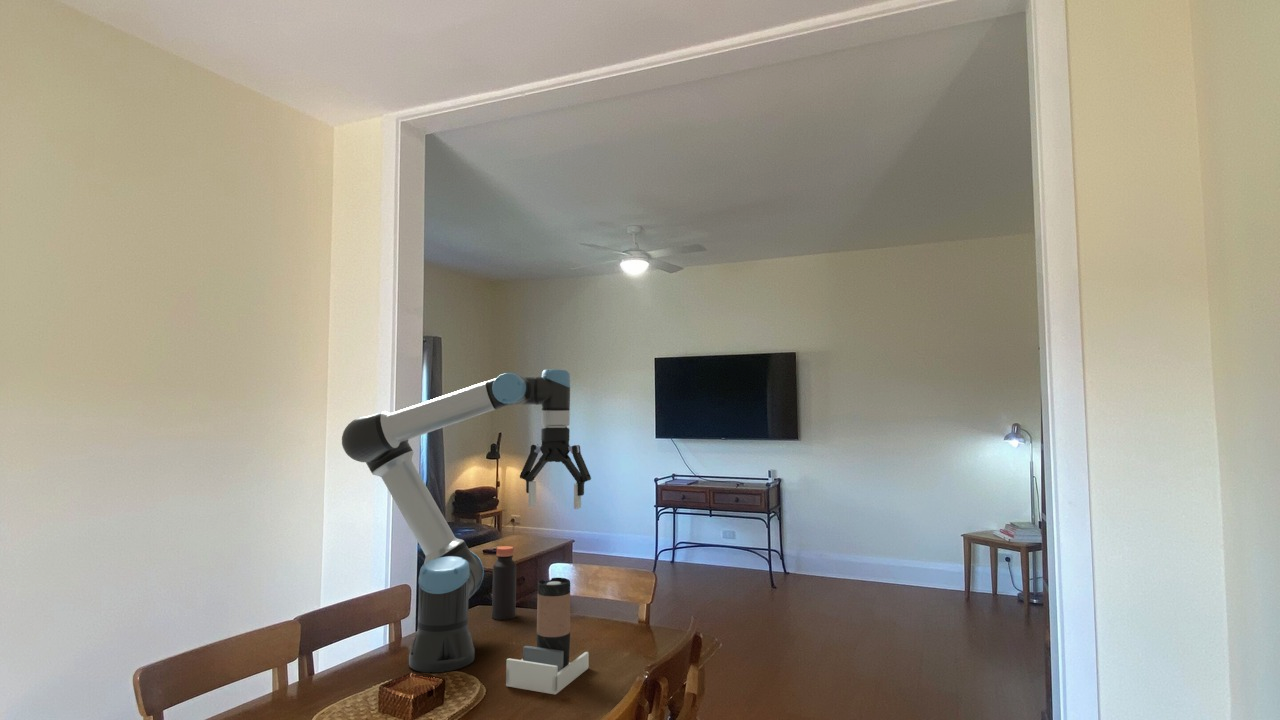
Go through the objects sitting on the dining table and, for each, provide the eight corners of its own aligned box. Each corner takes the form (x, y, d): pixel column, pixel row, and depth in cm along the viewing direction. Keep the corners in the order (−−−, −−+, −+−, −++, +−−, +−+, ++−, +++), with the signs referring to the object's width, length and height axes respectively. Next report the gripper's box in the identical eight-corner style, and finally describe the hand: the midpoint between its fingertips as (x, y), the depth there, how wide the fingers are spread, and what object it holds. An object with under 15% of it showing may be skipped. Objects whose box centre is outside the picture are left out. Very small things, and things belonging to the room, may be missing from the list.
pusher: (522, 674, 148) (523, 647, 148) (526, 672, 149) (526, 645, 149) (560, 681, 144) (560, 652, 145) (563, 678, 145) (564, 650, 146)
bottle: (487, 616, 194) (489, 547, 196) (507, 612, 198) (509, 544, 200) (499, 622, 189) (500, 550, 191) (519, 617, 193) (521, 547, 195)
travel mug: (563, 678, 146) (564, 586, 148) (531, 675, 148) (532, 584, 150) (574, 666, 154) (575, 578, 155) (542, 663, 155) (544, 576, 157)
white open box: (506, 686, 144) (506, 659, 144) (542, 661, 158) (543, 637, 159) (555, 694, 139) (555, 667, 140) (588, 668, 154) (588, 643, 154)
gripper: (603, 427, 176) (603, 507, 174) (522, 426, 185) (521, 503, 183) (591, 427, 169) (590, 511, 167) (508, 426, 178) (506, 506, 176)
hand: (554, 507), depth 175 cm, fingers open, 13 cm apart
